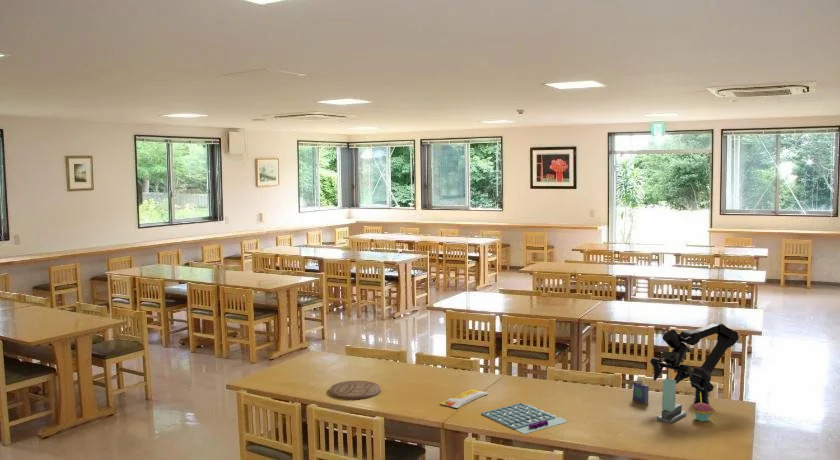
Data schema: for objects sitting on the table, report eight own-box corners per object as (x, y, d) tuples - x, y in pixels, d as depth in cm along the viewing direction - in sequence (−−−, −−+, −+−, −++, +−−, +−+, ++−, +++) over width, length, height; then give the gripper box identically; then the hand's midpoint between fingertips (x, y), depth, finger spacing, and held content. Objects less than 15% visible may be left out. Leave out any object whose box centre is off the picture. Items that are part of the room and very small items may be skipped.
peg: (666, 407, 311) (667, 378, 310) (675, 409, 308) (676, 380, 307) (662, 409, 308) (662, 380, 307) (670, 411, 305) (671, 382, 304)
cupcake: (687, 417, 311) (688, 390, 310) (703, 414, 314) (704, 388, 313) (701, 423, 303) (702, 396, 302) (717, 421, 306) (718, 394, 305)
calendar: (526, 404, 330) (526, 399, 329) (570, 422, 306) (570, 417, 306) (481, 416, 315) (481, 411, 314) (524, 435, 291) (524, 430, 291)
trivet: (383, 384, 358) (383, 381, 358) (376, 401, 333) (376, 397, 333) (335, 383, 360) (335, 379, 360) (324, 399, 335) (324, 395, 335)
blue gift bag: (649, 404, 328) (650, 381, 327) (644, 405, 327) (645, 382, 326) (635, 398, 336) (636, 376, 335) (630, 399, 335) (631, 377, 334)
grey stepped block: (673, 411, 318) (673, 402, 317) (685, 415, 313) (686, 405, 313) (656, 420, 307) (657, 410, 307) (669, 423, 303) (670, 413, 303)
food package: (472, 386, 348) (489, 390, 342) (472, 391, 349) (489, 395, 343) (439, 401, 327) (456, 405, 321) (439, 405, 327) (456, 410, 321)
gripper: (652, 340, 325) (638, 367, 319) (690, 348, 311) (675, 377, 305) (661, 354, 331) (647, 381, 325) (699, 362, 316) (684, 391, 310)
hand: (663, 382), depth 316 cm, fingers open, 9 cm apart
